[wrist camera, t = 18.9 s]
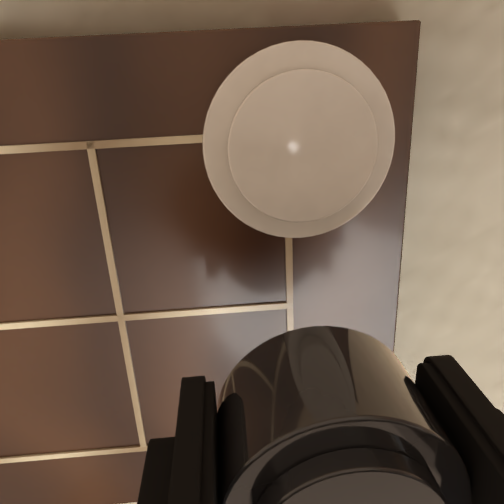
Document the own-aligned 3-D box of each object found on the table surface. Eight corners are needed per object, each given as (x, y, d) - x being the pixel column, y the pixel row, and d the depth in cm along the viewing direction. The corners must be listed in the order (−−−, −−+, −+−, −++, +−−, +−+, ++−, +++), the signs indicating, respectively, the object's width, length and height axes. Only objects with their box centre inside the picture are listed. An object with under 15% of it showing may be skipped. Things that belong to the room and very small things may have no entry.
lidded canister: (417, 316, 10) (510, 427, 7) (402, 472, 12) (470, 617, 9) (208, 333, 10) (206, 455, 7) (223, 490, 12) (227, 645, 9)
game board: (402, 24, 15) (423, 19, 13) (373, 453, 21) (385, 482, 20) (-251, 55, 14) (-308, 53, 12) (-67, 492, 20) (-90, 525, 19)
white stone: (364, 42, 13) (412, 32, 10) (357, 202, 15) (396, 239, 12) (198, 51, 13) (191, 44, 10) (212, 212, 15) (210, 252, 11)
